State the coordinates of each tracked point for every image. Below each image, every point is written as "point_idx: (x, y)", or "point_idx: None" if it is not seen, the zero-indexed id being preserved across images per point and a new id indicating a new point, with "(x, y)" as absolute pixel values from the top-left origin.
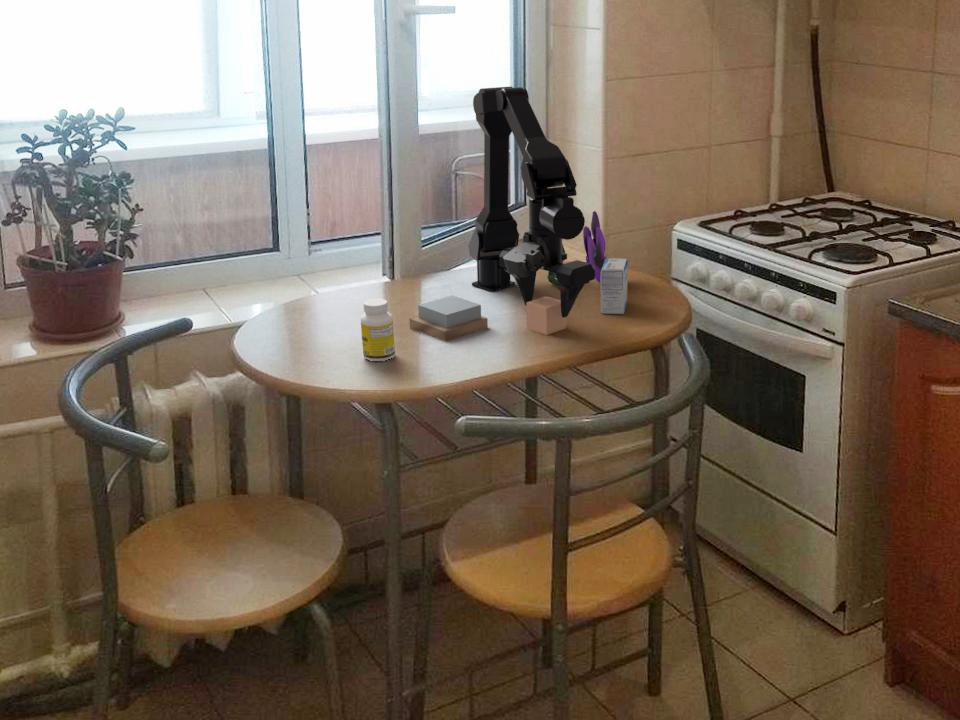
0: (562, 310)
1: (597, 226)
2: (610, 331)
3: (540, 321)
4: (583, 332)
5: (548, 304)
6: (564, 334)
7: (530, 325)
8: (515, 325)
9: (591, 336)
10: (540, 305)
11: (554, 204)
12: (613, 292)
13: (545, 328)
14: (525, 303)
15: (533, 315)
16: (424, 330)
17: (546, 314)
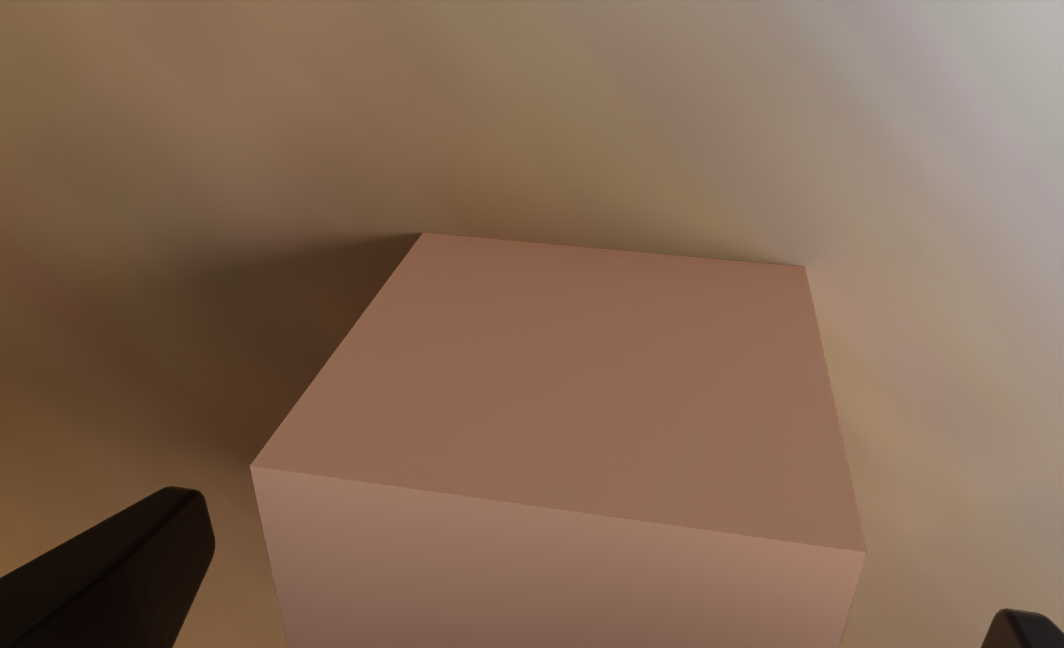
0: (87, 552)
1: None
2: None
3: (492, 323)
4: (231, 498)
5: (407, 636)
6: (298, 361)
7: (727, 290)
8: (1037, 267)
9: (97, 455)
10: (468, 539)
11: None
12: None
13: (413, 272)
14: (1047, 642)
15: (649, 377)
16: None
17: (304, 394)
